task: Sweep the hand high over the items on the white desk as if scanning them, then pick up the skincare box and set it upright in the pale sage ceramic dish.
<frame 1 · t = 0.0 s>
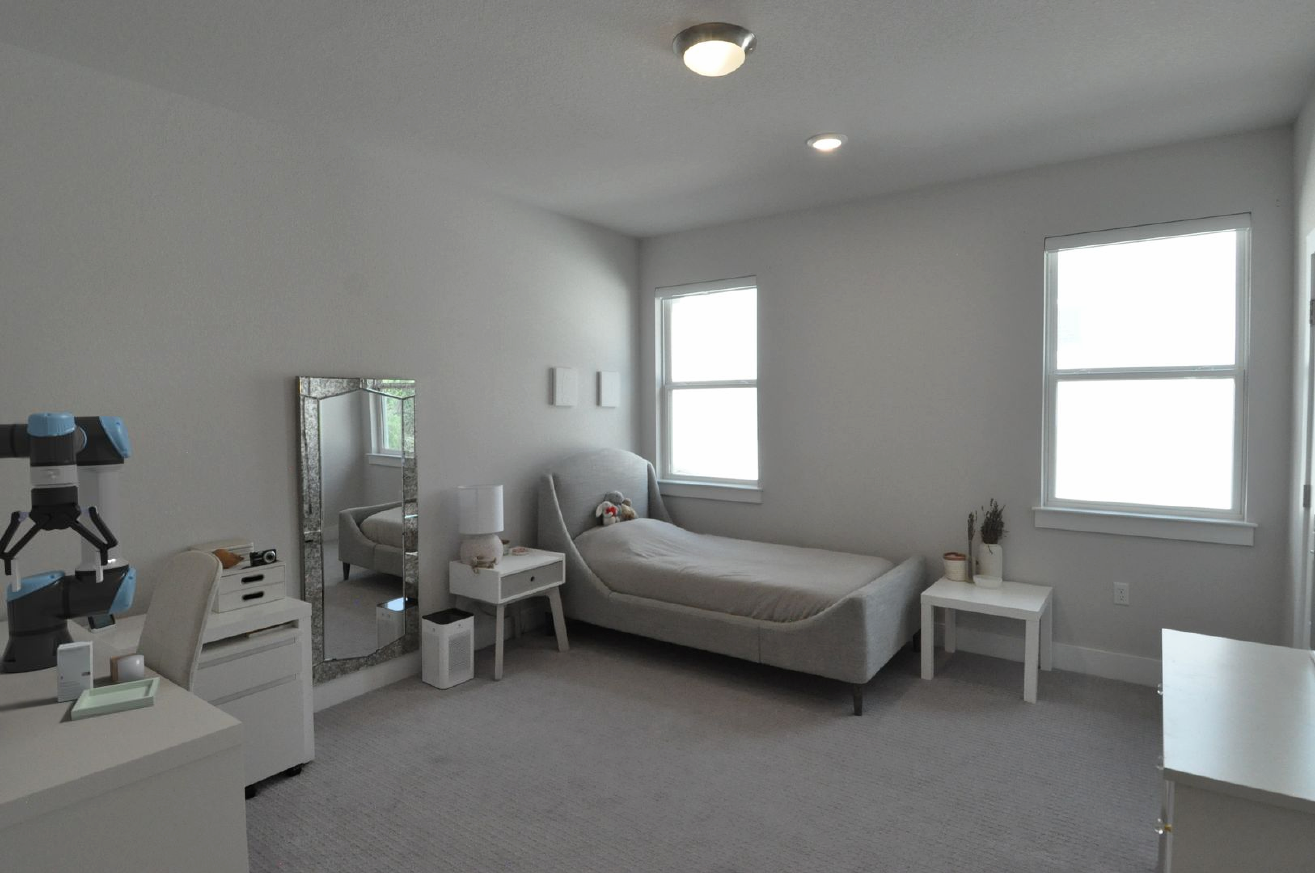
hand: (59, 585, 148), 28 cm above the table, fingers open, 13 cm apart
skincare box: (76, 697, 160), on the table
grey smooth rounded part: (131, 682, 168), on the table
sage dish: (118, 701, 156), on the table
walnut block: (125, 677, 172), on the table
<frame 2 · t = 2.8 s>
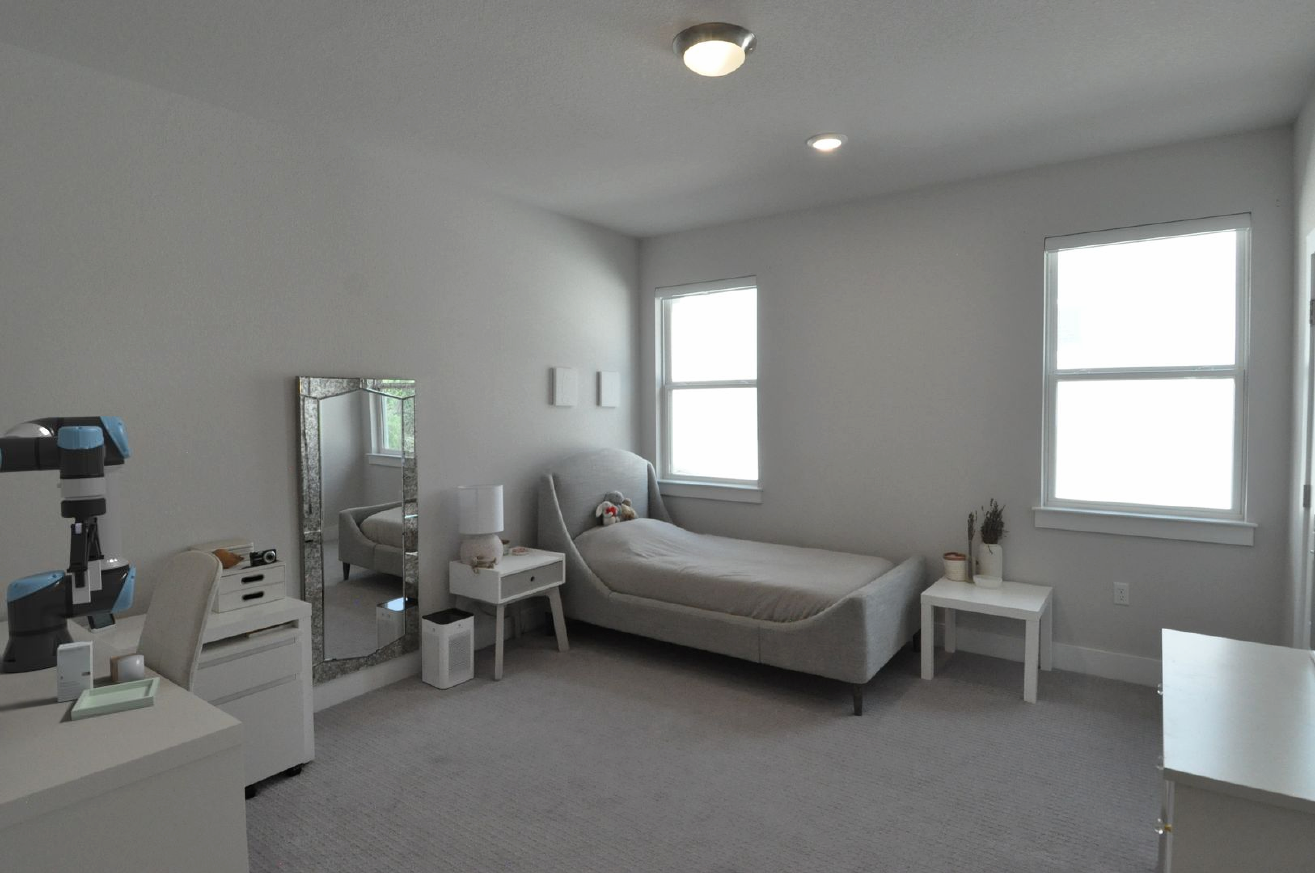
hand: (87, 596, 150), 25 cm above the table, fingers open, 13 cm apart
nothing on the table moved.
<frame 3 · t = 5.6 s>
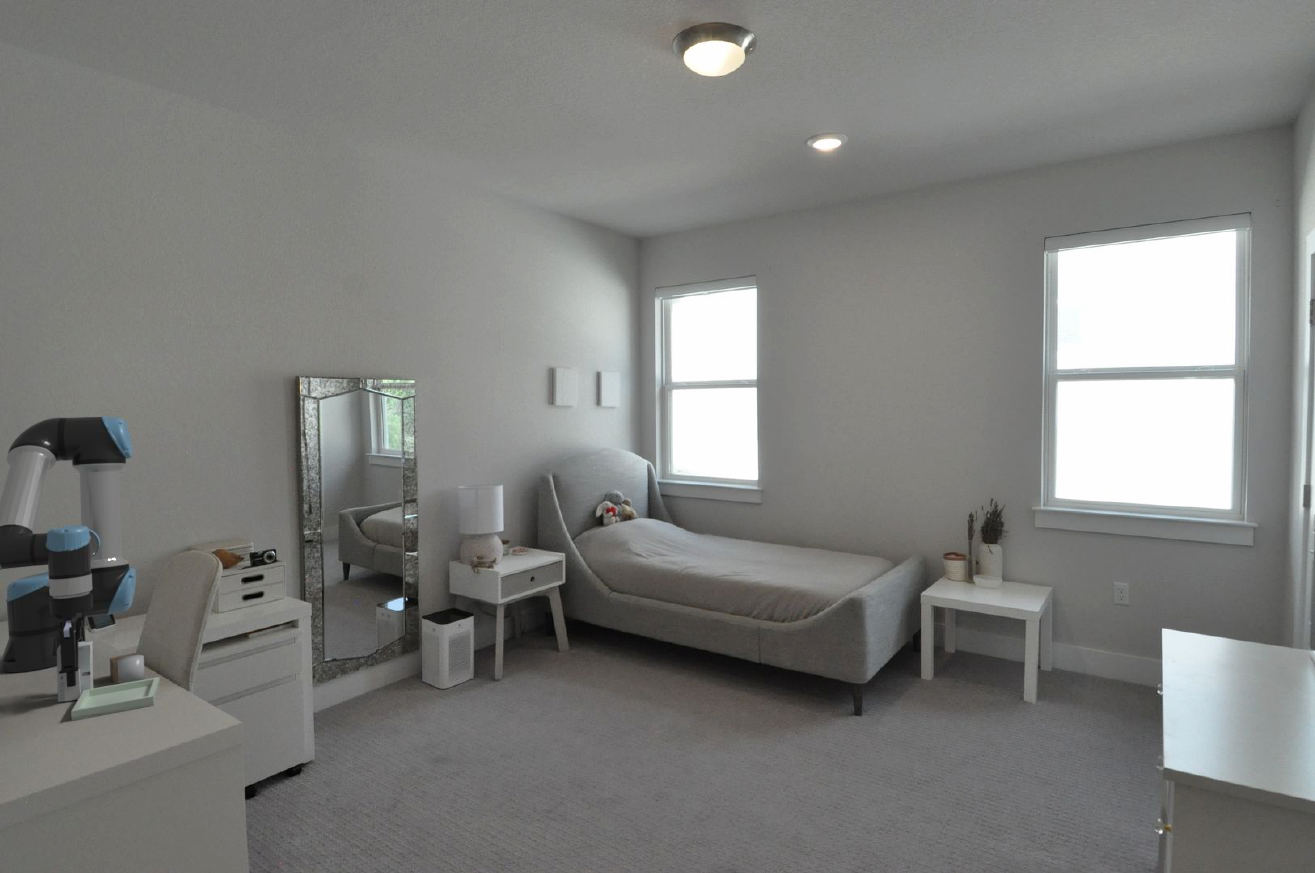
hand: (75, 694, 160), 0 cm above the table, fingers open, 5 cm apart
skincare box: (76, 697, 160), on the table, touching gripper
everything else where it was.
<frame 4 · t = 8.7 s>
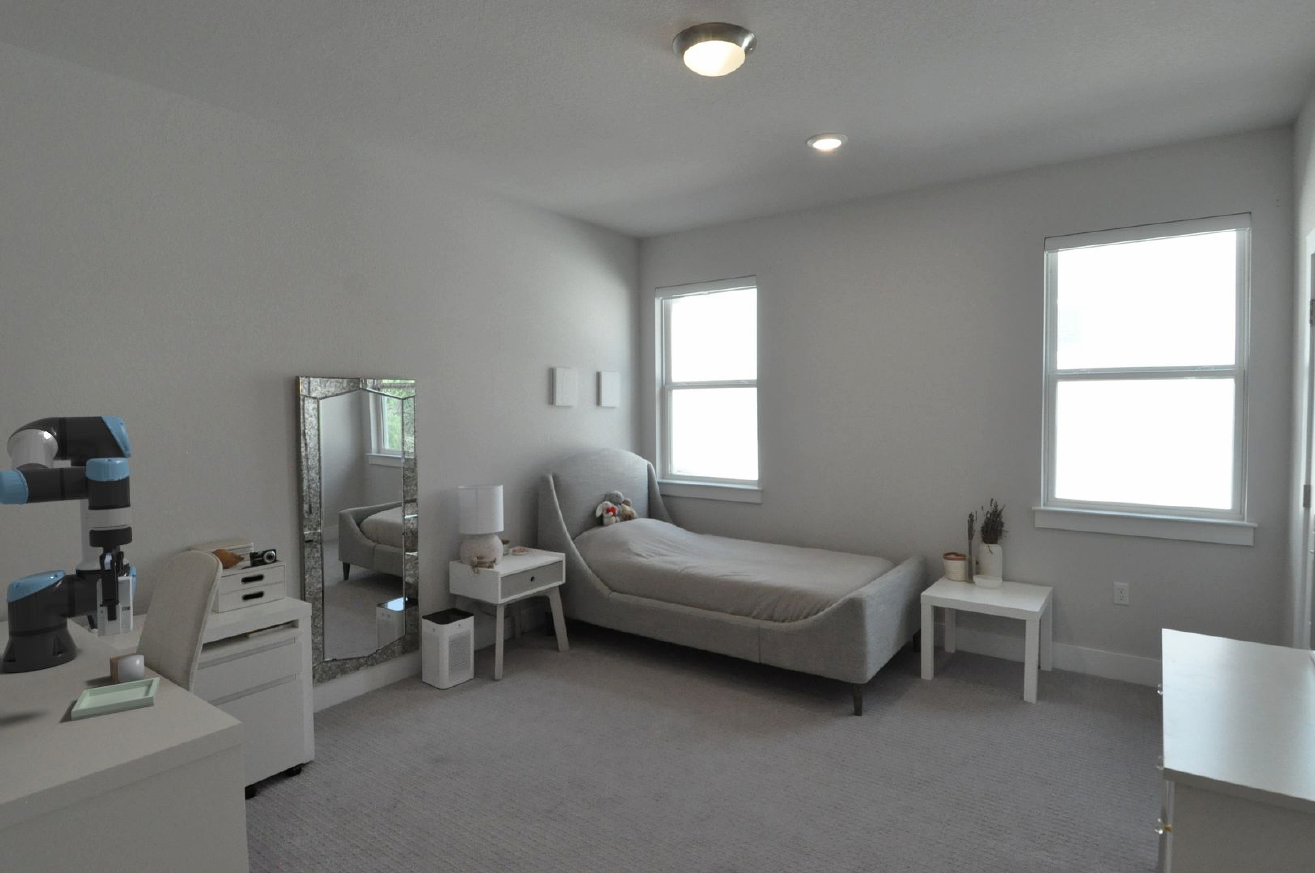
hand: (115, 631, 156), 16 cm above the table, fingers closed on skincare box, 4 cm apart
skincare box: (116, 633, 156), point 15 cm above the table, touching gripper
everything else where it was.
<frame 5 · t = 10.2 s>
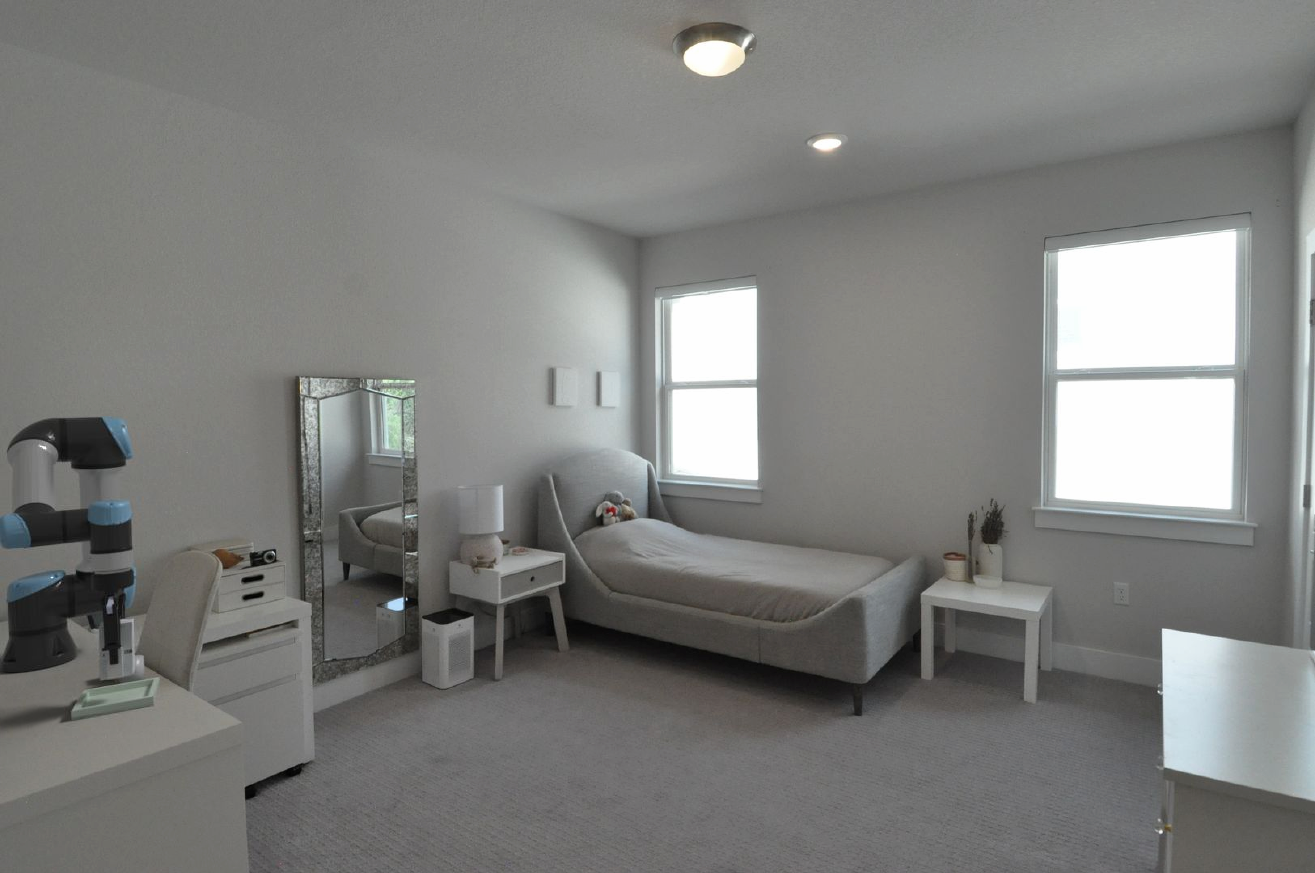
hand: (117, 674, 156), 6 cm above the table, fingers closed on skincare box, 4 cm apart
skincare box: (118, 675, 156), point 6 cm above the table, touching gripper
everything else where it was.
when the fingers open (2 cm above the table, at t = 11.2 s): skincare box drops 1 cm, resting on sage dish.
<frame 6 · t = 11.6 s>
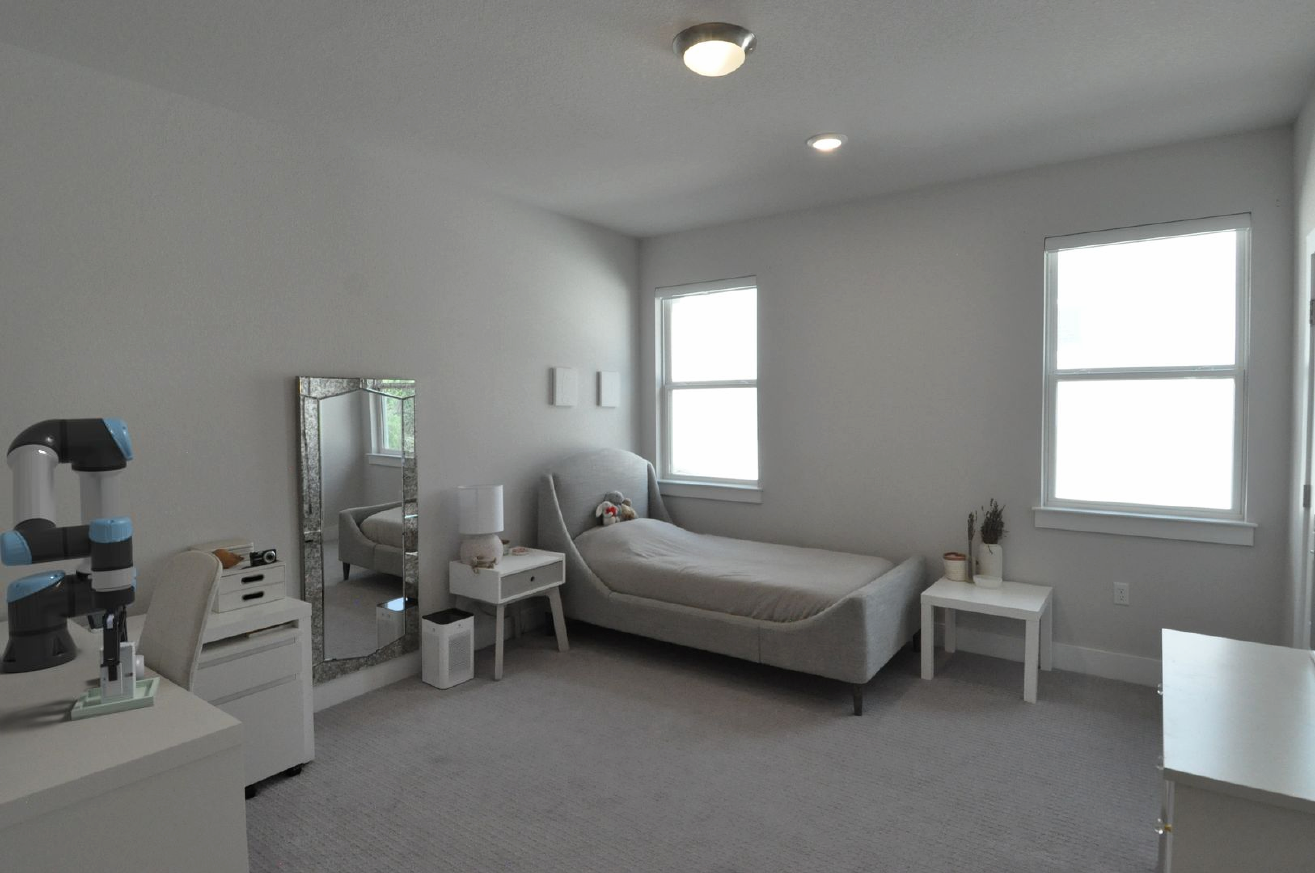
hand: (117, 687, 156), 3 cm above the table, fingers open, 9 cm apart
skincare box: (119, 699, 157), resting on sage dish
everything else where it was.
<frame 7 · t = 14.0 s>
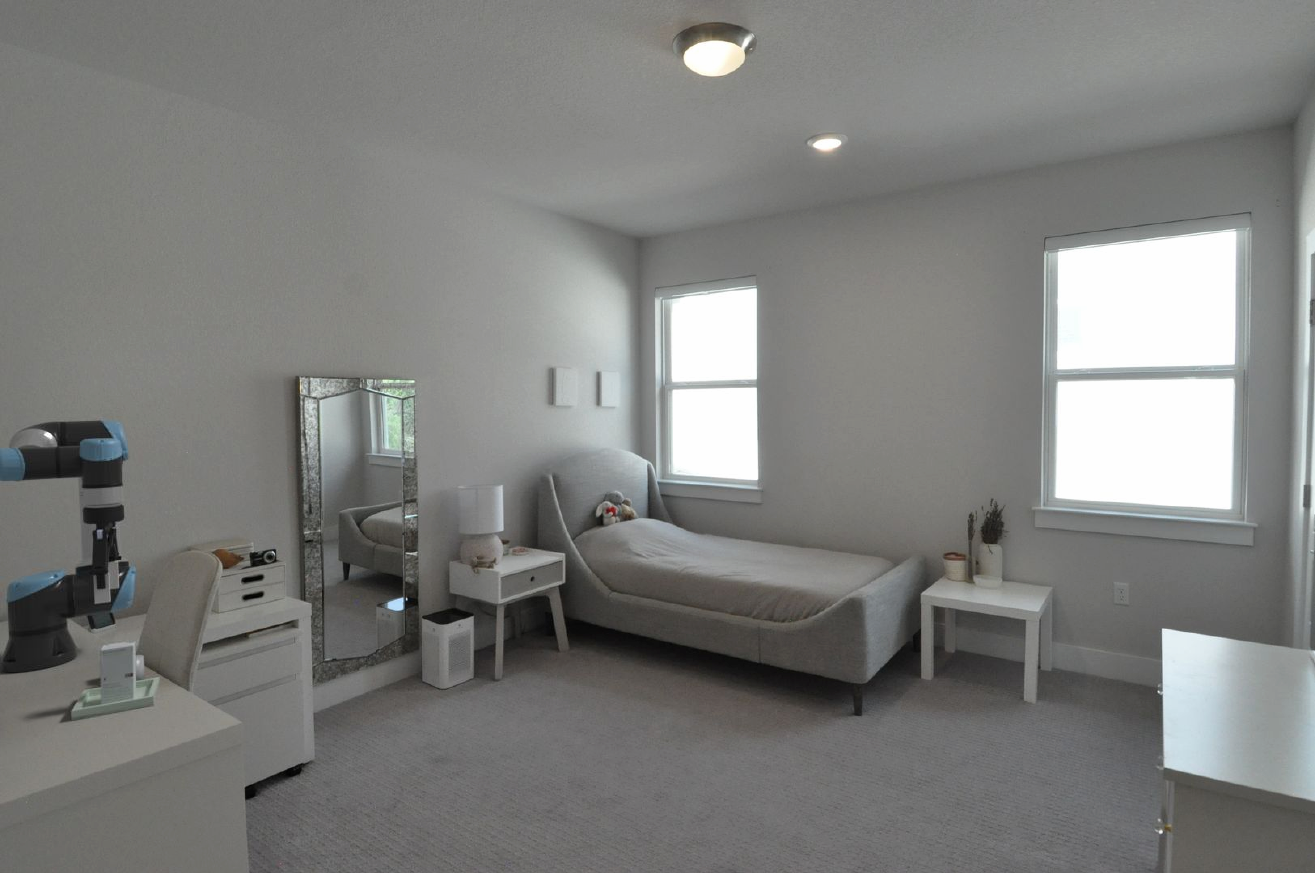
hand: (107, 595, 163), 22 cm above the table, fingers open, 13 cm apart
nothing on the table moved.
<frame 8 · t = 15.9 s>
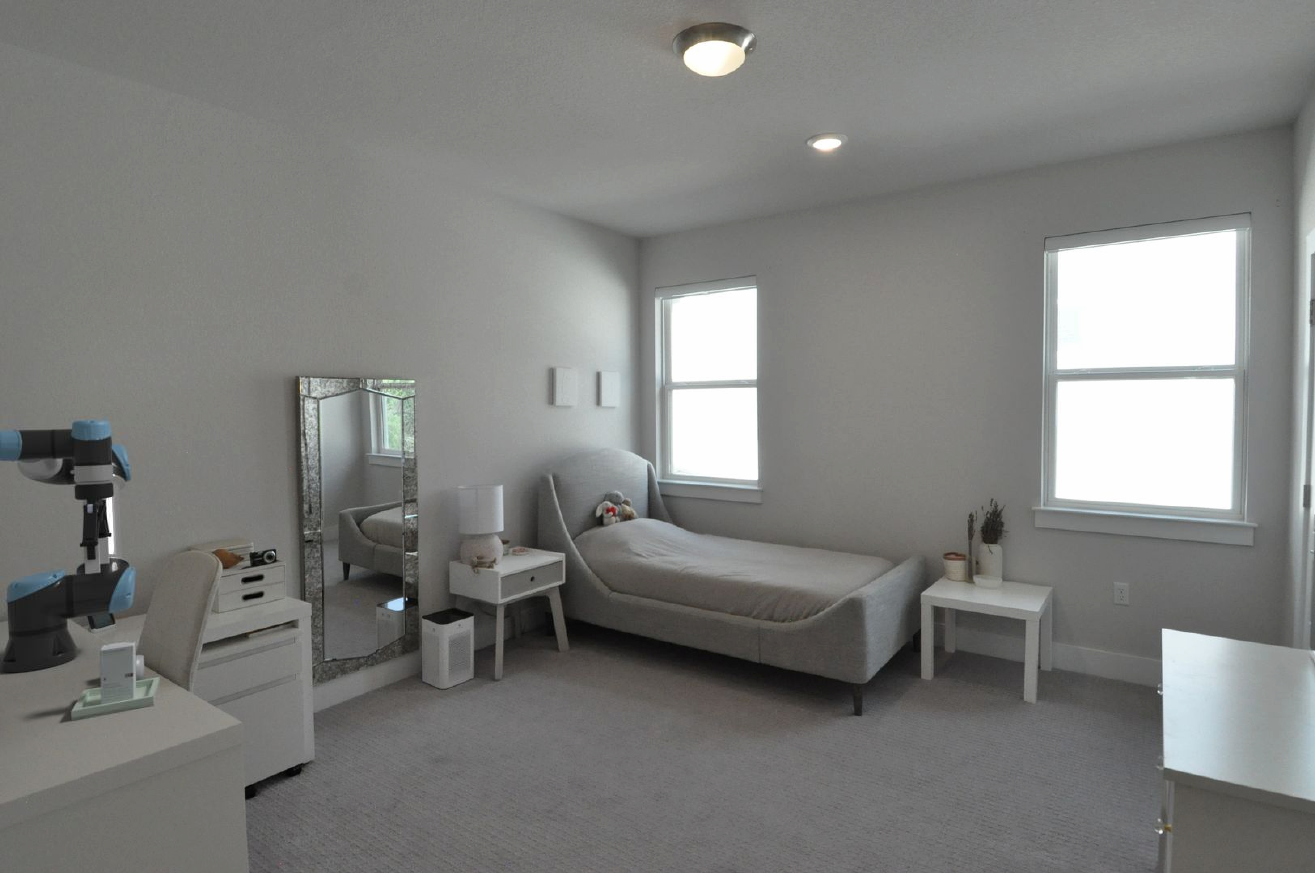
hand: (97, 568, 173), 27 cm above the table, fingers open, 13 cm apart
nothing on the table moved.
at the end: skincare box inside the target area on the sage dish (0.4 cm from its centre), point 0.4 cm above the sage dish's base; skincare box tilted 0°; the gripper is holding nothing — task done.
